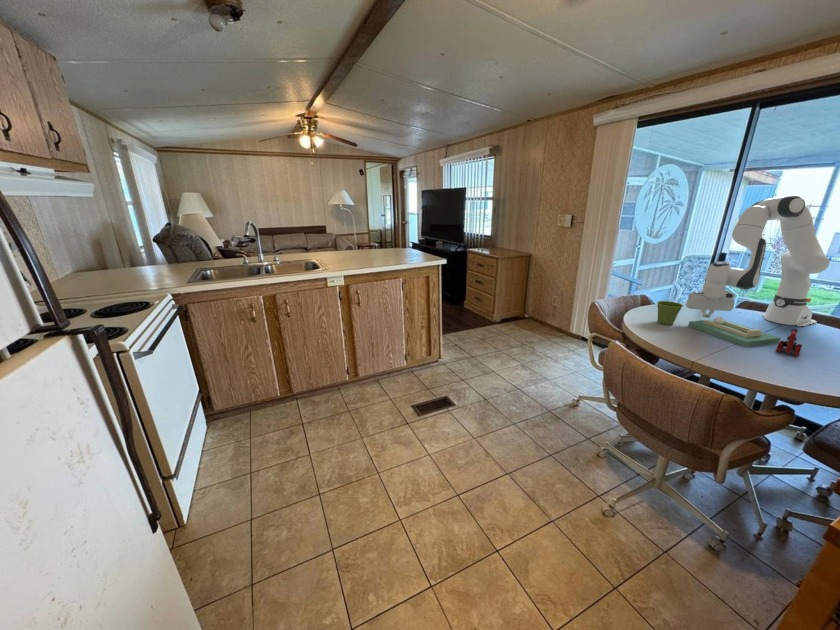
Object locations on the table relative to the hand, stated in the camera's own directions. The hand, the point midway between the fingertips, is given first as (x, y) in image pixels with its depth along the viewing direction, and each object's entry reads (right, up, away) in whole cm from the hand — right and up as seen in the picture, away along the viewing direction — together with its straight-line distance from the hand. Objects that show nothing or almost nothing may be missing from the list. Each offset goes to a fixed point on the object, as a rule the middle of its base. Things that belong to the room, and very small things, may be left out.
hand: (705, 317), depth 181 cm
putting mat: (+3, -8, -12) cm, 14 cm away
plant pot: (-19, -3, +4) cm, 20 cm away
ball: (+1, -2, -6) cm, 7 cm away
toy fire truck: (+9, -16, -32) cm, 37 cm away
